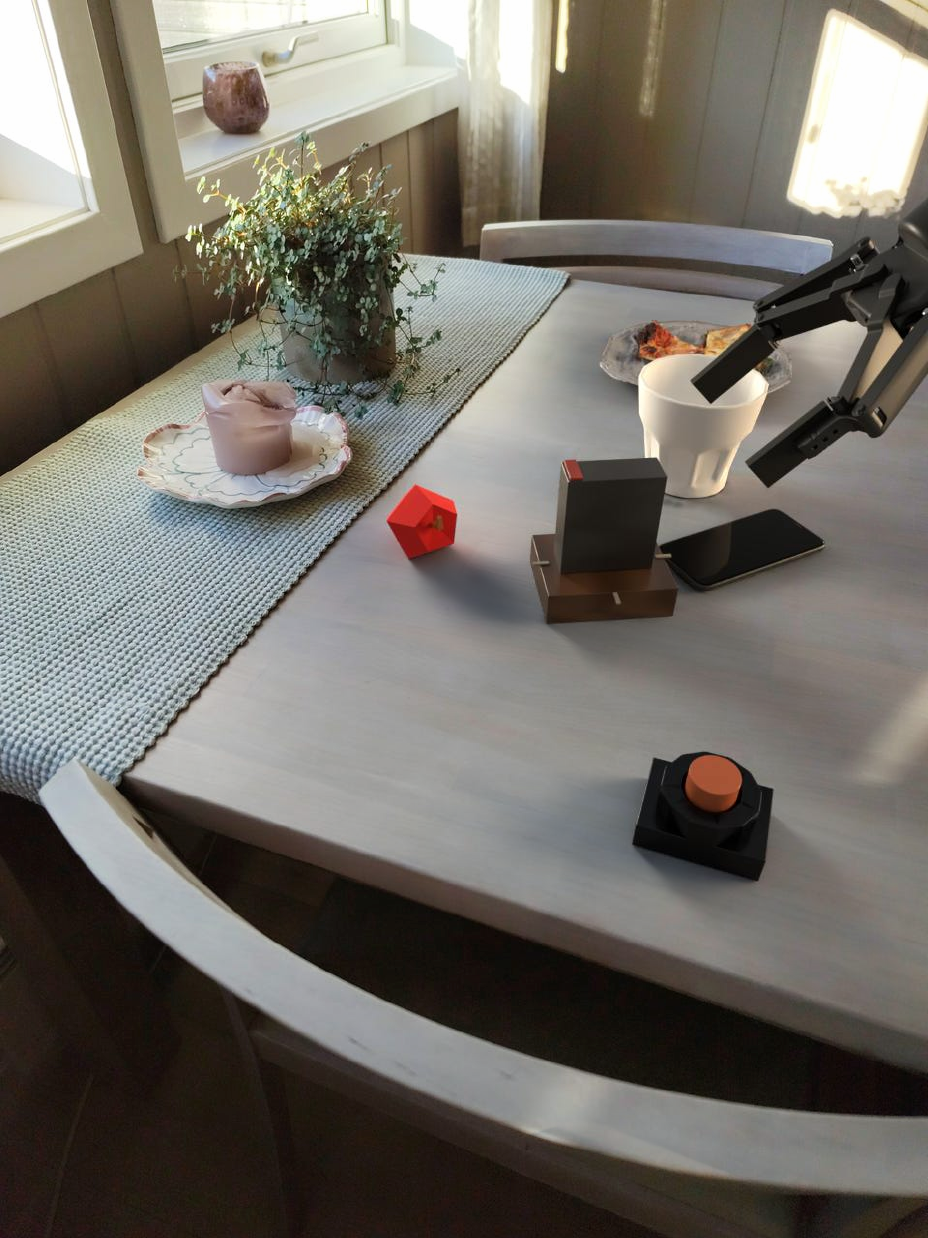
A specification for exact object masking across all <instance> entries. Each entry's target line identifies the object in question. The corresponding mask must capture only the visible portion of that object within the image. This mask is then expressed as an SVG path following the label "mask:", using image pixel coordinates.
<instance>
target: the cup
mask: <svg viewBox="0 0 928 1238" xmlns="http://www.w3.org/2000/svg"><path fill="white" fill-rule="evenodd" d="M717 357H718V356H710V355H703V354H679V355H672V356H667V357H662V358H658V359H656V360H654V361H652V362H650V363H649V364H647V365H645V366H644V367H643V369H642V371H641V373H640V375H639V386H638V415H639V418H640V420H641V423H642V426H643V441H644V443H643V444H644V458H653V457H657V458H658V460H659V462H660V464H661V466H662V468H663V470H664V471H665V473H666V475H667V477H668V478H667V483H666V489H665V494H667V495H669V496H674V497H678V498H682V499H683V498H684V499H702V498H707V497H710V496H714V495H717V494H719V492H721V491H722V490H723V489H724V488H725V485H726V482H727V478H728V474H729V470H730V468H731V465H732V463H733V461H734V458H735V456H736V454H737V453H738V449H739V447H740V445H741V442H742V441H743V440H744V439H745V438H746V437H747V436H749V434H751V432H752V431H753V430H754V427H755V424H756V422H757V419H758V417H759V414H760V412H761V409H762V407H763V405H764V402H765V400H766V398H767V395H768V394H767V390H768V385H769V384H768V383H767V381H766V380H765V379H764V377H763V376H762V375H761V373H760V372H758V371H756V370H754V369H753V370H751V371H750V372H749V373H748V374H747V375H745V376H744V377H743V378H742V379H741V380H739V381H738V382H737V383H736V384H735V385H733V386H732V387H731V388H730V389H729V390H727V391H726V392H725V393H724V394H723V395H721V396H720V397H719V398H718V399H717V400H715V401H714V402H713V403H712V404H710V403H709V402H708V401H707V400H706V399H705V398H704V396H703V395H702V394H701V393H700V392H699V391H698V390H697V389H696V388H695V386H694V385H693V384H692V383H691V381H690V380H691V379H692V378H693V377H695V376H696V375H697V374H698V373H699V372H700V371H702V370H703V369H704V368H705V367H706V366H707V365H709V364H710V363H711V362H712V361H713V360H714V359H716V358H717Z"/></svg>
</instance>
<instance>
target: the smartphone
mask: <svg viewBox="0 0 928 1238" xmlns="http://www.w3.org/2000/svg"><path fill="white" fill-rule="evenodd" d="M658 546H659V548H660V550H661V552H662V554H671V558H664V559H665V561H666V563H667V565H668V567H669V568H670V567H671V569H673V570H674V571H675V572H676V573H677V574H678V575H680V576H681V577H682V578H683V579H684V580H685V581H686V582H688V583H689V584H690V585H691V586H692V587H693V588H695V589H696V590H698V591H700V592H710V591H713V590H715V589H718V588H722V587H724V586H727V585H730V584H733V583H735V582H738V581H741V580H744V579H747V578H750V577H752V576H755V575H758V574H761V573H763V572H766V571H769V570H772V569H775V568H777V567H780V566H783V565H786V564H788V563H792V562H794V561H797V560H801V559H803V558H805V557H809V556H811V555H814V554H817V553H820V552H822V551H823V550H825V548H826V546H827V544H826V541H825V540H824V539H823V538H822V537H821V536H819V535H817V534H816V533H814V532H813V531H812V530H810V529H809V528H807V527H806V526H804V525H803V524H802V523H801V522H799V521H797V520H796V519H794V518H793V517H791V516H790V515H789V514H787V513H786V512H785V511H782V510H781V509H779V508H769V509H764V510H762V511H759V512H756V513H753V514H750V515H747V516H743V517H741V518H737V519H734V520H731V521H728V522H725V523H722V524H719V525H715V526H713V527H710V528H707V529H703V530H701V531H697V532H695V533H691V534H688V535H685V536H682V537H679V538H675V539H673V540H669V541H667V542H663V543H660V545H659V544H658Z"/></svg>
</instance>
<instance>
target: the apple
mask: <svg viewBox="0 0 928 1238" xmlns="http://www.w3.org/2000/svg"><path fill="white" fill-rule="evenodd" d="M398 502H399V503H398V504H396V506H395V507H394V508H393V510H392V511H391V512H390V514H388V516H387V518H386V523H387V524H388V527H389V528H390V530H391V531H392V534H393V535H394V537H395V539H396V540H397V542H398V544H399V546H400V548H401V550H402V551H403V552H404V554H405V556H406V558H407V560H409V559H412V558H416V557H420V556H423V555H426V554H429V553H432V552H435V551H438V550H441V549H444V548H445V549H446V548H448V547H450V546H452V545H454V544H455V541H456V531H457V521H458V512H457V508H456V505H455V501H454V500H452V499H450V498H447V497H445V496H443V495H441V494H438V493H436V492H434V491H431V490H429V489H427V488H425V487H422V486H420V485H418V484H414V485H413V486H412V487H411V488H410V489H409V490H408V491H407V492H406V493H405V495H404V496H403V497H402V498H401V499H400V501H398Z"/></svg>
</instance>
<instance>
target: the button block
mask: <svg viewBox="0 0 928 1238" xmlns="http://www.w3.org/2000/svg"><path fill="white" fill-rule="evenodd" d="M707 755H713V756H719V757H722V758H725V759H727V760H729V761H730V762H732V763H733V764H734V765H735V766H736V767H737V768H738V770H739V771H740V774H741V777H742V782H741V786H740V789H739V792H738V795H737V798H736V801H735V804H734V805H733V806H732V807H731V808H730V809H728V810H726V811H723V812H709V811H705V810H702V809H700V808H698V807H697V806H695V805H694V804H693V803H692V802H691V801H690V800H689V799H688V797H687V795H686V792H685V784H686V780H687V776H688V772H689V768H690V765H691V764H692V762H693V761H694V760H696V759H697V758H699V757H702V756H707ZM774 791H775V789H774V788H772V787H768V786H765V785H761V784H758V782H757V781H756V779H755V777H754V775H753V773H752V772H751V771H750V770H749V769H747V768H746V767H745V766H743V765H742V764H741V763H738V762H737V761H736V760H734V759H733V758H732V757H729V756H725V755H721V754H718V753H714V752H710V751H695V752H689V753H683V754H681V755H679V756H678V757H677V758H675V759H673V761H670V760H665V759H661V758H657V757H652V761H651V764H650V768H649V772H648V776H647V780H646V784H645V788H644V792H643V796H642V800H641V804H640V808H639V811H638V816H637V819H636V824H635V827H634V833H633V836H632V842H631V846H634V847H637V848H641V849H643V850H647V851H651V852H654V853H657V854H661V855H664V856H668V857H672V858H674V859H677V860H682V861H685V862H688V863H692V864H696V865H699V866H702V867H706V868H708V869H713V870H715V871H720V872H723V873H727V874H729V875H734V876H737V877H740V878H744V879H747V880H751V881H754V882H759V880H760V878H761V876H762V873H763V870H764V867H765V865H766V861H767V854H768V847H769V836H770V827H771V819H772V810H773V800H774V793H775V792H774Z"/></svg>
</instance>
